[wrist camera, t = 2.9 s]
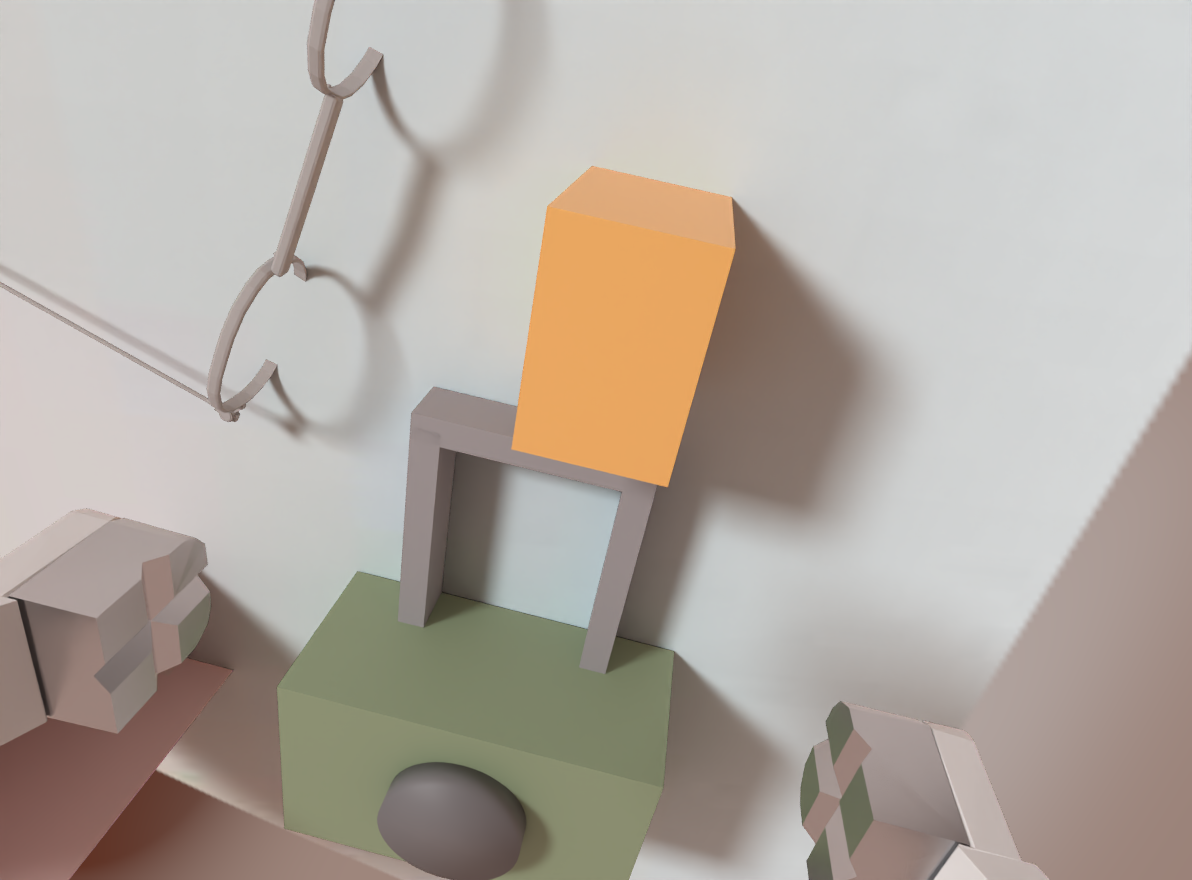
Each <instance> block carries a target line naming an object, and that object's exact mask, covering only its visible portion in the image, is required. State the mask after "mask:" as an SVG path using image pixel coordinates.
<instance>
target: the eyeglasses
mask: <svg viewBox="0 0 1192 880" xmlns="http://www.w3.org/2000/svg"><path fill="white" fill-rule="evenodd" d="M334 1H335V0H315V1H314V5H313V11H312V17H311V23H310V29H309V35H308V40H307V55H308V72H309V75H310V79H311V82H312V85H313V86H314V87H315V88H316V89H318V90H319V91H320V92H322V93H323V94H325V96H324V99H323V102H322V105H321V109H320V112H319V115H318V118H317V121H316V125H315V128H314V131H313V134H312V138H311V141H310V144H309V147H308V150H307V154H306V157H305V160H304V163H303V167H302V170H301V173H300V176H299V179H298V183H297V186H296V189H295V192H294V196H293V199H292V202H291V205H290V209H289V212H288V215H287V218H286V222H285V225H284V228H283V231H282V234H281V238H280V241H279V244H278V247H277V251H276V252H275V253H273V254H274V257H272V258H271V259H269V260H268V261H267V262H265V263H264V264H263V265H262V266H260V267H259V268H258V269H257V270H256V271H255V272H254V273H253V275H252V276H251V277H250V278H249V280H248V281H247V282H246V284H245V285H244V287H243V288H242V290H241V292H240V293H239V295H238V297H237V298H236V300H235V302H234V303H233V305H232V307H231V309H230V311H229V314H228V316H227V318H226V321H225V323H224V326H223V328H222V330H221V333H220V336H219V339H218V343H217V346H216V349H215V352H214V356H213V360H212V363H211V367H210V370H209V375H208V382H207V393H208V398H209V399H208V398H206V397H205V396H203V395H201V394H199V393H197V392H196V391H194V390H192V389H190V388H189V387H187V386H185V385H183V384H181V383H180V382H178V381H176V380H174V379H173V378H171V377H169V376H167V375H165V374H164V373H162V372H160V371H158V370H156V369H155V368H153V367H151V366H149V365H148V364H146V363H144V362H142V361H140V360H139V359H137V358H135V357H133V356H132V355H130V354H128V353H126V352H124V351H123V350H121V349H119V348H117V347H115V346H114V345H112V344H110V343H108V342H107V341H105V340H103V339H101V338H99V337H98V336H96V335H94V334H92V333H91V332H89V331H87V330H85V329H83V328H82V327H80V326H78V325H76V324H74V323H73V322H71V321H69V320H67V319H66V318H64V317H62V316H60V315H58V314H57V313H55V312H53V311H51V310H50V309H48V308H46V307H44V306H42V305H41V304H39V303H37V302H35V301H33V300H32V299H30V298H28V297H26V296H25V295H23V294H21V293H19V292H17V291H16V290H14V289H12V288H10V287H9V286H7V285H5V284H3V283H1V282H0V287H2V288H4V289H5V290H7V291H9V292H11V293H13V294H14V295H16V296H18V297H20V298H22V299H23V300H25V301H27V302H29V303H30V304H32V305H34V306H36V307H38V308H39V309H41V310H43V311H45V312H46V313H48V314H50V315H52V316H54V317H55V318H57V319H59V320H61V321H63V322H64V323H66V324H68V325H70V326H71V327H73V328H75V329H77V330H79V331H80V332H82V333H84V334H86V335H88V336H89V337H91V338H93V339H95V340H96V341H98V342H100V343H102V344H104V345H105V346H107V347H109V348H111V349H113V350H114V351H116V352H118V353H120V354H121V355H123V356H125V357H127V358H129V359H130V360H132V361H134V362H136V363H138V364H139V365H141V366H143V367H145V368H146V369H148V370H150V371H152V372H154V373H155V374H157V375H159V376H161V377H163V378H164V379H166V380H168V381H170V382H171V383H173V384H175V385H177V386H179V387H180V388H182V389H184V390H186V391H188V392H189V393H191V394H193V395H195V396H196V397H198V398H200V399H202V400H204V401H205V402H207V403H209V404H211V406H213V407H215V409H214V410H215V411H217V412H219V415H220V417H221V418H222V419H223V420H224V421H227V422H231V421H233V422H236V421H237V420H238V418H239V416H240V413H239V411H240V410H242V409H244V408H245V407H246V403H247V402H248V401H250V400H251V399H252V398H253V397H254V396H255V395H256V394H257V393H258V392H259V391H260V390H261V389H262V387H263V386H264V385H265V384H266V382H267V381H268V380H269V378H270V377H271V376H272V374H273V372H274V370H275V368H276V366H277V364H275V363H273V362H271V361H269V360H267V359H266V360H265V362H264V364H263V366H262V368H261V369H260V371H259V372H258V373H257V375H256V376H255V377H254V378H253V380H252V381H251V382H250V383H249V384H248V385H247V386H246V387H245V388H244V389H243V390H242V391H241V392H240V393H238V394H237V395H235V396H234V397H233V398H231V399H229V400H227V401H226V402H224V403H222V401H221V396H220V391H221V384H222V378H223V375H224V371H225V368H226V364H227V361H228V358H229V355H230V351H231V348H232V345H233V342H234V339H235V337H236V334H237V332H238V330H239V327H240V325H241V323H242V320H243V318H244V315H245V314H246V312H247V310H248V309H249V307H250V305H251V304H252V302H253V300H254V299H255V297H256V295H257V294H258V292H259V291H260V290H261V288H262V287H263V286H264V285H265V283H266V282H267V281H268V280H269V278H271V277H272V276H273V275H274V274H275V275H277V276H279V277H281V276H283V275H284V274H286V273H287V272H288V270H289V268H290V265H291V263H293V266H294V275H296V276H298V277H299V278H301V279H302V280H304V281H306V277H307V271H306V268H305V265H304V262H303V261H302V260H301V259H299V258H298V257H297V256H295V255H294V253H295V250H296V247H297V243H298V240H299V237H300V234H301V231H302V228H303V225H304V222H305V219H306V216H307V213H308V210H309V207H310V204H311V201H312V198H313V195H314V192H315V189H316V185H317V182H318V179H319V176H320V173H321V170H322V167H323V164H324V160H325V157H326V154H327V151H328V148H329V145H330V142H331V139H332V135H333V132H334V129H335V126H336V123H337V120H338V117H339V114H340V111H341V107H342V104H343V99H345V98H348V97H350V96H352V95H353V94H354V93H355V92H356V91H357V90H358V89H360V88H361V87H362V86H363V85H364V83H365V82H366V81H367V79H368V78H369V77H370V75H371V74H372V73H373V71H374V70H375V69H376V67H377V65H378V63H379V62H380V60H381V58H382V56H383V54H382V53H380V52H378V51H376V50H374V49H372V48H371V47H369V48H368V50H367V52H366V53H365V55H364V57H363V58H362V60H361V61H360V62H359V64H358V65H357V66H356V68H355V69H354V70H353V72H352V73H351V74H350V75H349V76H348V77H347V78H346V79H345V80H344V81H342V82H341V83H340V84H339V85H336V86H333V87H331V85H330V84H326V80H325V76H324V48H325V43H326V38H327V33H328V27H329V22H330V17H331V12H332V9H333V5H334Z"/></svg>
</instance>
